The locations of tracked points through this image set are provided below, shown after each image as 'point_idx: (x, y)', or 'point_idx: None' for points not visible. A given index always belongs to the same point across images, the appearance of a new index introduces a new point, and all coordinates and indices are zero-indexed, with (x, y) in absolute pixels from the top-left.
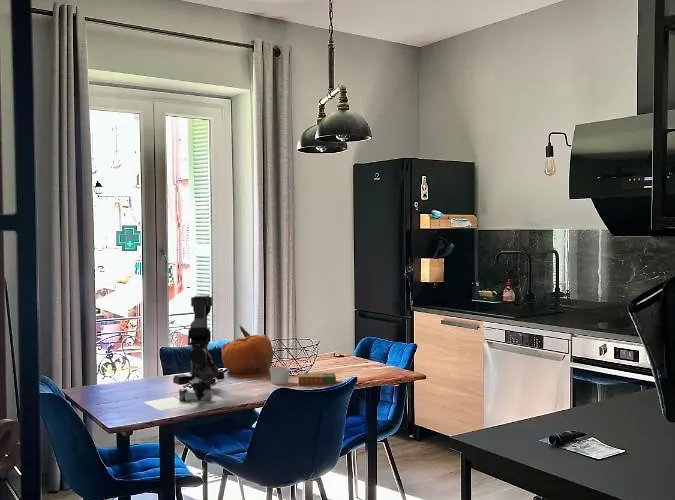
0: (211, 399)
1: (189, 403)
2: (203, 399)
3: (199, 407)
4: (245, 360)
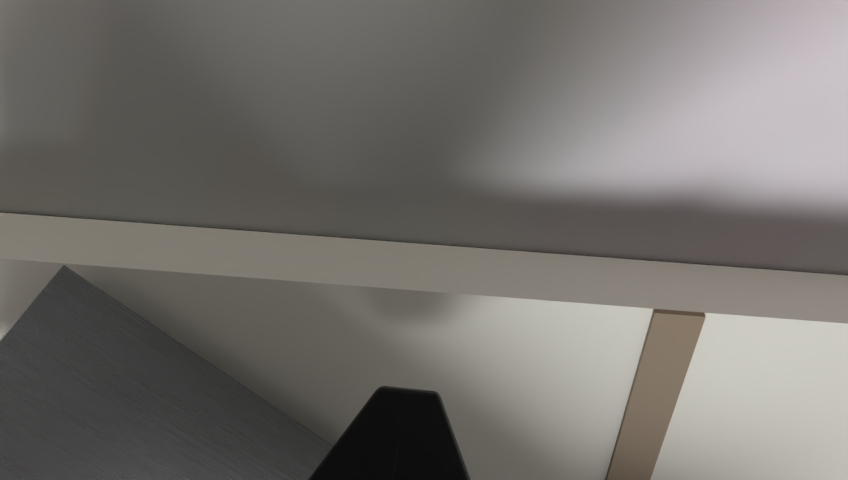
0: (16, 319)
1: (663, 439)
2: (246, 417)
3: (533, 136)
4: None
